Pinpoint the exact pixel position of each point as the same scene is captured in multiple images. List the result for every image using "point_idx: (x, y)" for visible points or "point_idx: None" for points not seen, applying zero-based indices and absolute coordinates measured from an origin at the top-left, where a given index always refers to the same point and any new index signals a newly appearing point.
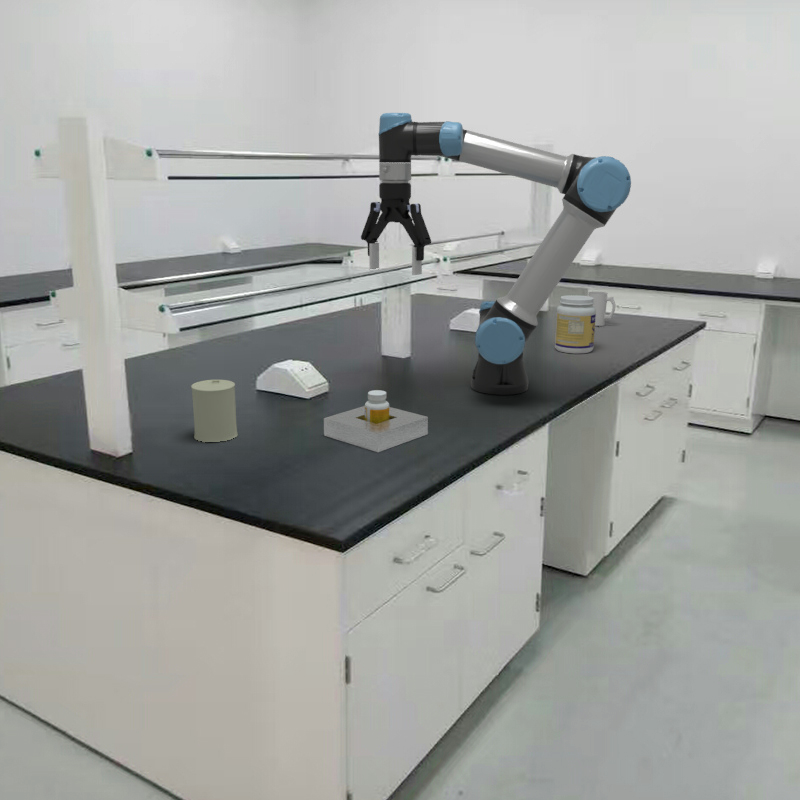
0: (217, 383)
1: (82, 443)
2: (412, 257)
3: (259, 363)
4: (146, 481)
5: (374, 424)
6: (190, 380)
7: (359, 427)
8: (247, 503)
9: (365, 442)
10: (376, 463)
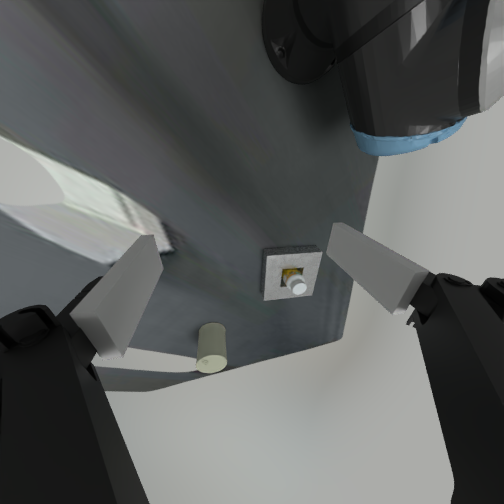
0: (209, 361)
1: (174, 373)
2: (362, 285)
3: None
4: (245, 364)
5: None
6: (24, 292)
7: (295, 295)
8: (295, 348)
9: None
10: (314, 296)
